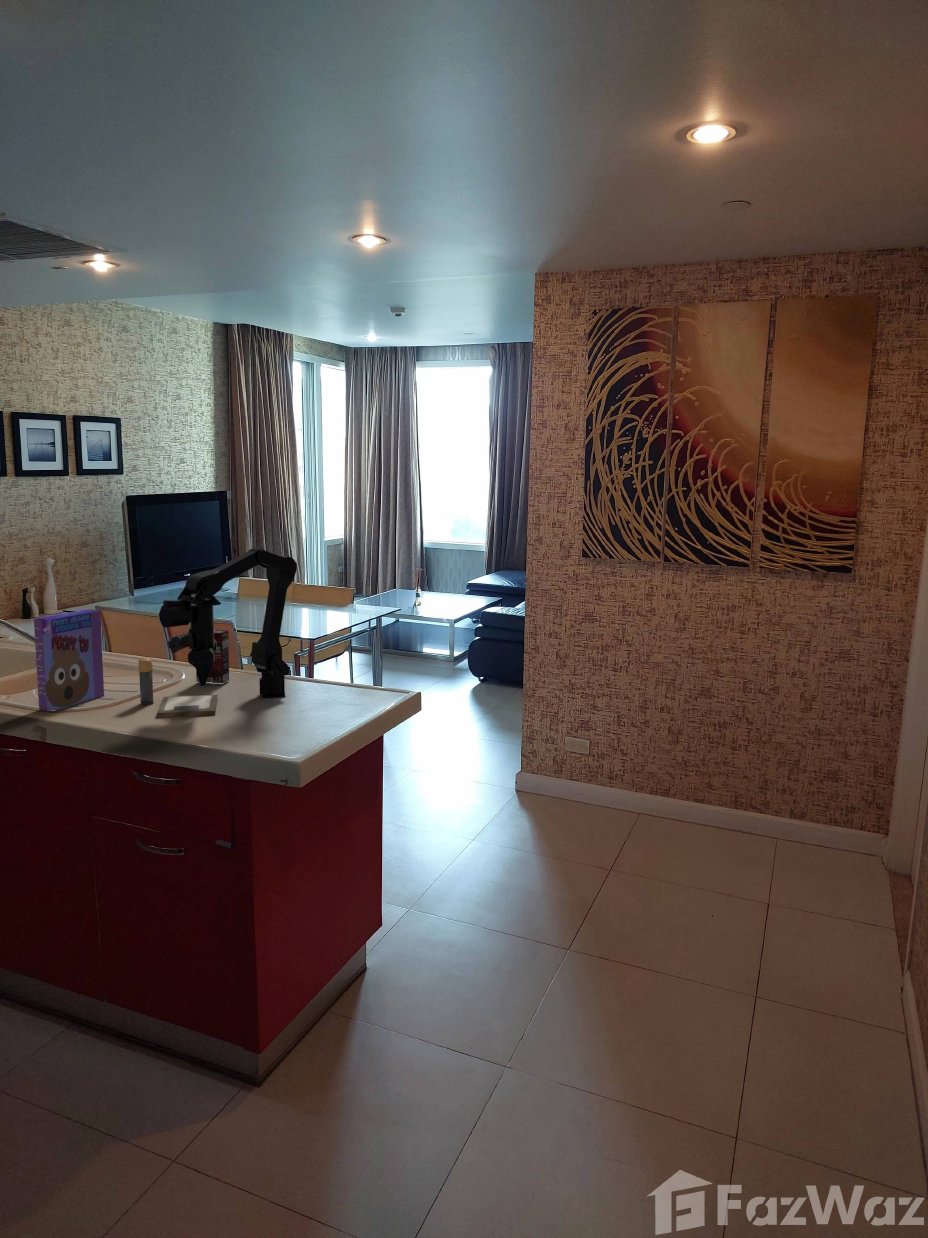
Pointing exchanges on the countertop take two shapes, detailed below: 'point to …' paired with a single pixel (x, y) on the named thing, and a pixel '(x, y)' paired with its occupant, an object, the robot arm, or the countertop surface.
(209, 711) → the clipboard
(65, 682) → the cereal box
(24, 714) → the countertop surface
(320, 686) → the countertop surface
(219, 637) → the supplement box
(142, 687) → the marker
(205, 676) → the robot arm
